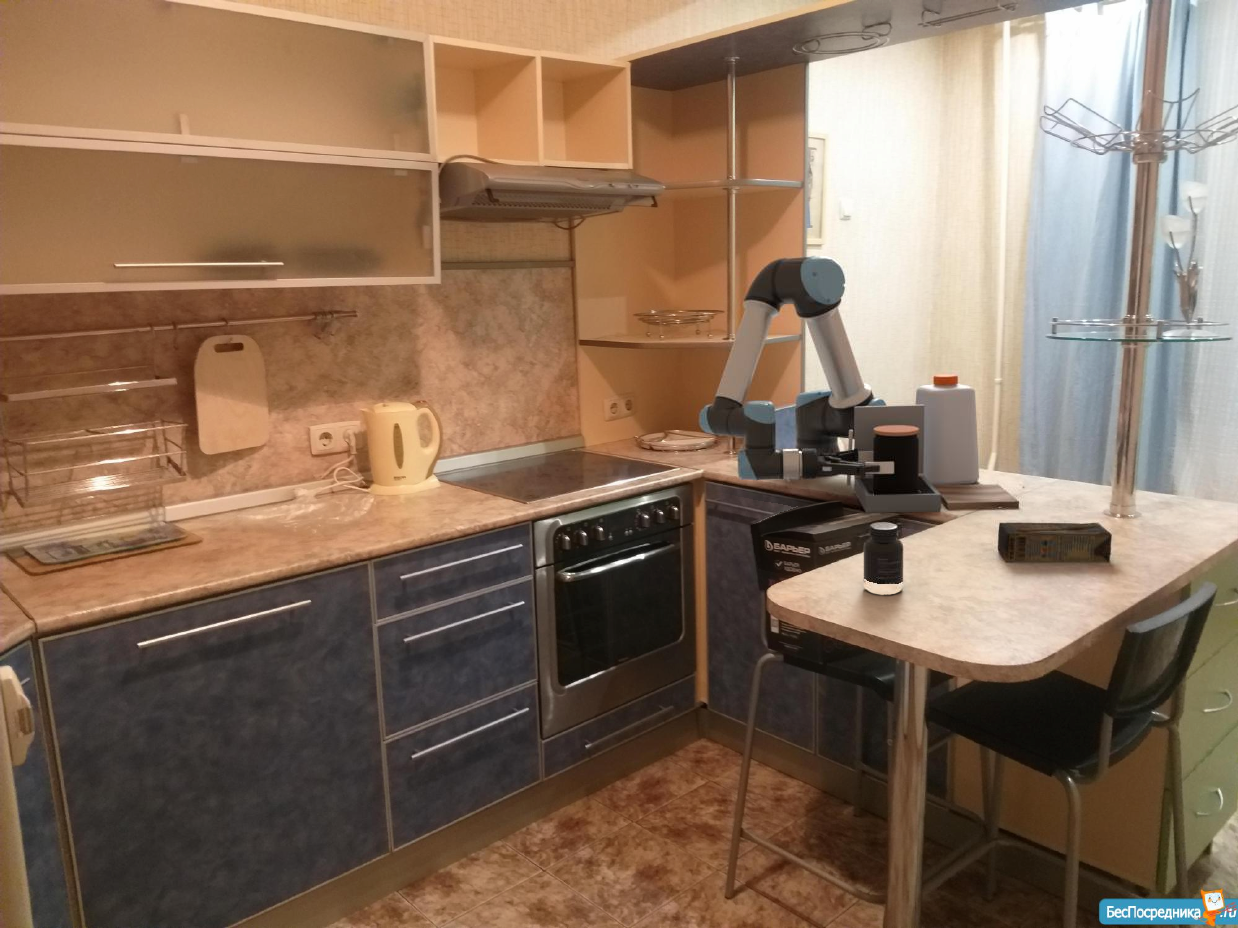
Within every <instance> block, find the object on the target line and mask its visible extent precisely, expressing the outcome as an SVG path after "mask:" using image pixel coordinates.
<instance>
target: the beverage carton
mask: <svg viewBox="0 0 1238 928" xmlns="http://www.w3.org/2000/svg"><path fill="white" fill-rule="evenodd" d="M997 535H998V536H997V550H998V551H997V552H998V553H999V552H1000V553H999V554H1000V555H1001V557H1002V559H1003V560H1004V562H1005V561H1009V562H1008V563H1110V561H1111V555H1112V540H1113V538H1112V537H1113V536H1112V535H1113V534H1112V533H1111V532H1109V531H1108V530H1107V529H1106V528H1105V527H1104V526H1102V525H1101V523H1099V522H1090V523H1089V522H1087V523H1086V522H1085V523H1080V522H1077V523H1076V522H1017V521H1016V522H1008V521H1007V522H999V524H998V533H997Z"/></svg>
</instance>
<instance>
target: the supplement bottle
mask: <svg viewBox="0 0 1238 928" xmlns="http://www.w3.org/2000/svg"><path fill="white" fill-rule="evenodd" d="M868 530H869V531H868V536H869V538H867V539H866V540H865V541H864V543H863V580H864V579H866V580H867V581H869V582H873V583H877V584H899V583H901V582H903V583H904V545H903V542H902V541H901V540H900V539H898V538H897V537H899V532H898V531H899V529H898V525H897V524H895V523H892V522H886V521H885V522H883V521H881V522H880V521H879V522H873V523H870V524H869V529H868Z"/></svg>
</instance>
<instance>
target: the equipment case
mask: <svg viewBox="0 0 1238 928" xmlns="http://www.w3.org/2000/svg"><path fill="white" fill-rule="evenodd" d="M887 425H906V426H914V427H917V428H919V433H918V434H917V437H918V439H919V467H918V490H919V491H918V492H919V493H918V494H894V495H873V494H870V492H868V491H873V474H866V477H865V478H862V476H853V479H854V485H853V487H854V490H855V491H854V493H855V492H856V493H855V495H856V494H857V495H856V497H857V496H858V497H857V498H859V499H858V500H859V502H860V505H861V506H862V508H863V510H864V511H865V513H911V512H912V513H914V512H915V513H916V512H917V513H918V512H920V513H921V512H925V513H926V512H941V511H942V510H941V509H942V502H941V494H940V493H939V492H938V491H937V490H936V489H935V487H934V486H933V485H932V484H931V483H930V482H929V481H928V480H927V479H926V478H925V477H924V474H923V470H924V405H915V404H904V405H903V404H899V405H898V404H897V405H896V404H895V405H887V406H863V407H854V439H853V430H849V439H848V443H847V445H848V446H847V447H848V449H847V451H848V450H853V449H854V448H857V449H858V451H873V439H874V437H875V436H876V435H875V433H874V428H875V427H879V426H887ZM853 440H854V441H853ZM853 442H854V443H853ZM853 444H854V445H853ZM853 446H854V447H853ZM856 463H859V462H858V461H857V462H856ZM862 463H864V464H865V462H862ZM851 481H852V475H846V486H847V487H850V486H851V484H852V482H851ZM921 493H922V494H921Z"/></svg>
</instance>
